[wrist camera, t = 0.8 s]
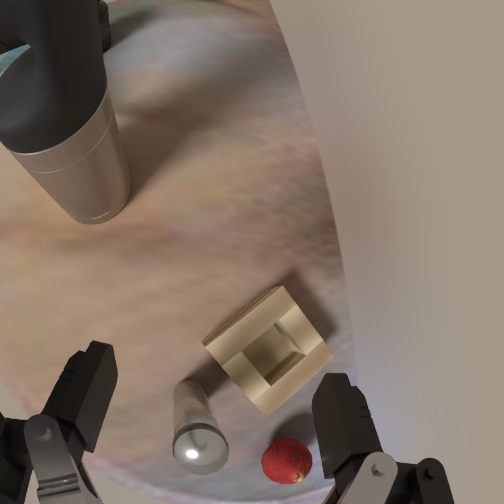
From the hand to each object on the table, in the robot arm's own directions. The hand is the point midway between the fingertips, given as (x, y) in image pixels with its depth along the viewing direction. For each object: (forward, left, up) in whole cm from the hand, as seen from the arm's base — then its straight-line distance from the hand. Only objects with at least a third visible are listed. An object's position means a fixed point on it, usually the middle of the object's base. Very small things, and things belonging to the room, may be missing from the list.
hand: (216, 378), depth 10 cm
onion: (+19, -2, -23) cm, 29 cm away
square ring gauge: (+7, +5, -22) cm, 24 cm away
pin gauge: (+6, -5, -23) cm, 24 cm away
